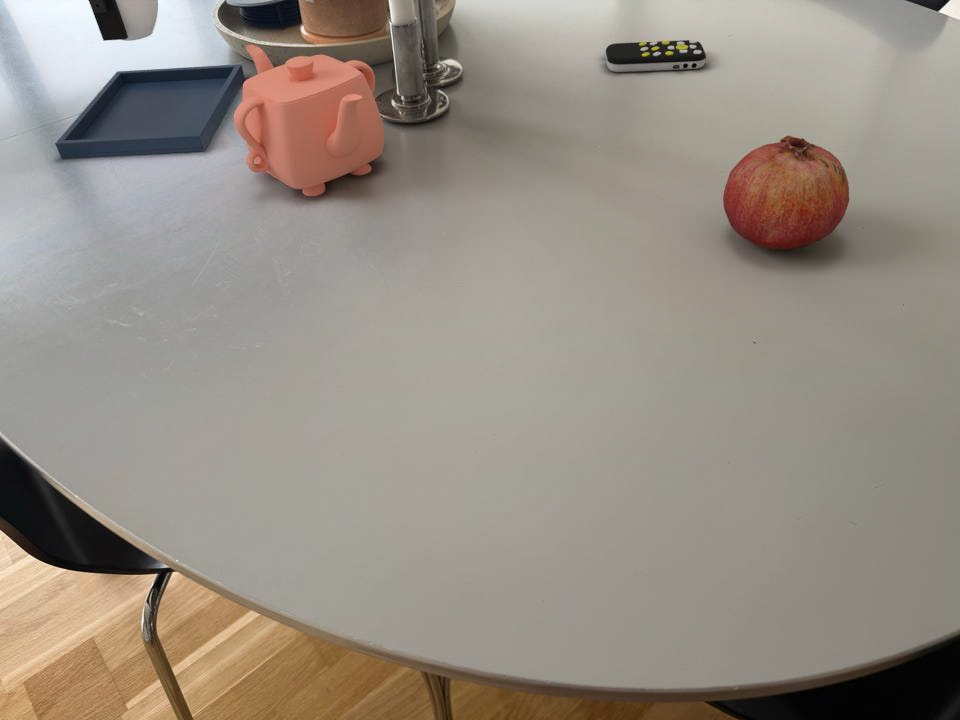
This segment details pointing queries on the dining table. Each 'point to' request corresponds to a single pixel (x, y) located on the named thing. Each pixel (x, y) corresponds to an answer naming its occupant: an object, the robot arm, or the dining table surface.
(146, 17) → the cup
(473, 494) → the dining table surface
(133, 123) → the tray
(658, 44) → the remote control
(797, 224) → the fruit
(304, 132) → the teapot
